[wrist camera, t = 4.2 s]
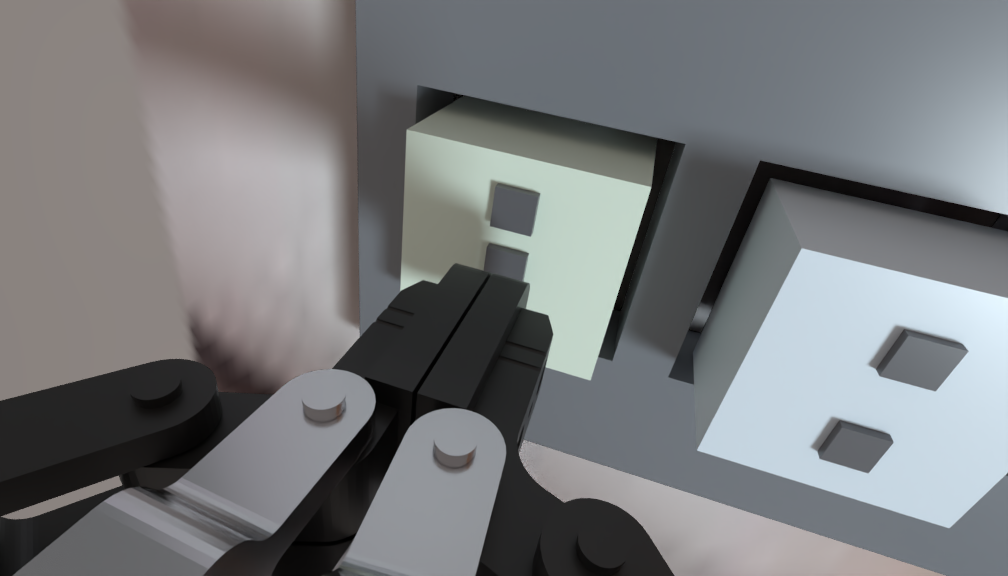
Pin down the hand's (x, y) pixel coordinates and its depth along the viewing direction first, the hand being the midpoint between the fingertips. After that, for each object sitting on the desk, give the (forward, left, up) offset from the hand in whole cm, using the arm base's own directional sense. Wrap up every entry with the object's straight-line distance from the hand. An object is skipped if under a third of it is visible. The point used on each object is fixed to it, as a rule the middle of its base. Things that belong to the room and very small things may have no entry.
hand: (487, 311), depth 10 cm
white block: (0, 0, -5) cm, 5 cm away
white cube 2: (-7, 0, -4) cm, 8 cm away
